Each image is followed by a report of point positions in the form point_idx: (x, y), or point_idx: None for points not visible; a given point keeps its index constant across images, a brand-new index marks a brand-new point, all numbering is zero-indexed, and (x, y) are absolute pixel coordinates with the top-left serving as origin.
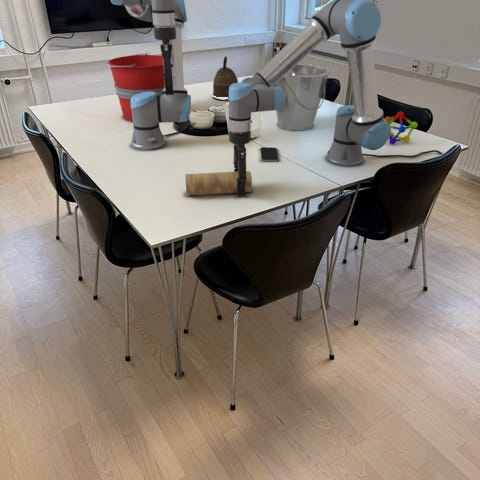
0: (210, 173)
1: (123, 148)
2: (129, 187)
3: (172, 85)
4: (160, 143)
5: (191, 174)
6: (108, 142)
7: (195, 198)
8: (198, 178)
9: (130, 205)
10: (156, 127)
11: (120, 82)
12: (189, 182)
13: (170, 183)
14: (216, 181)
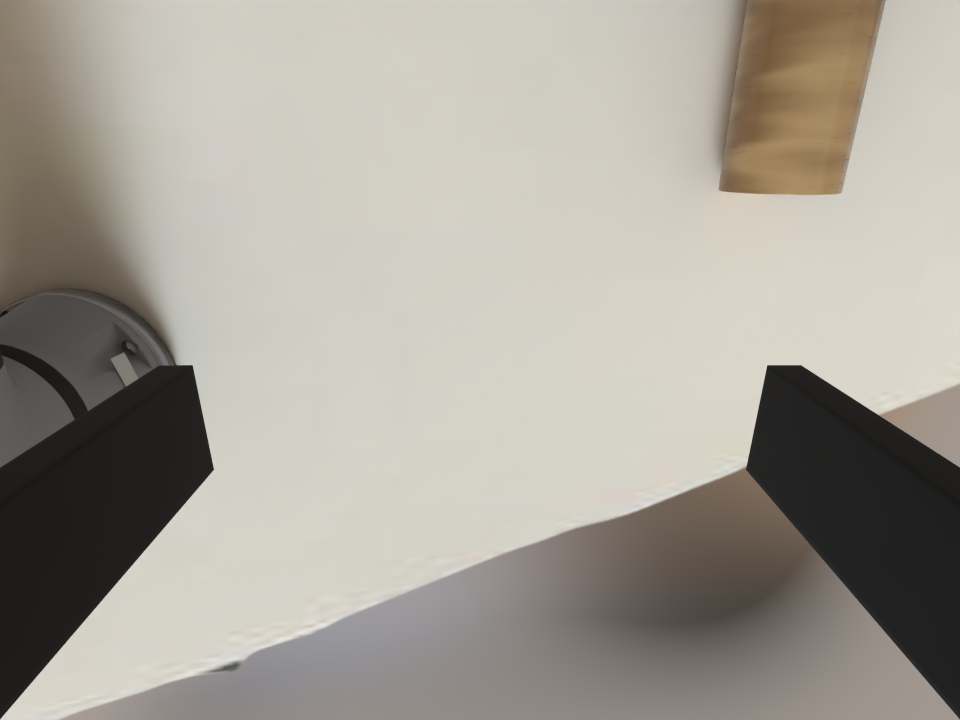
0: (836, 32)
1: None
2: (611, 429)
3: (911, 442)
4: (116, 316)
5: (810, 157)
6: None
7: None
8: (853, 118)
9: None
10: (35, 360)
11: None
12: (845, 173)
13: (608, 262)
14: (884, 4)
